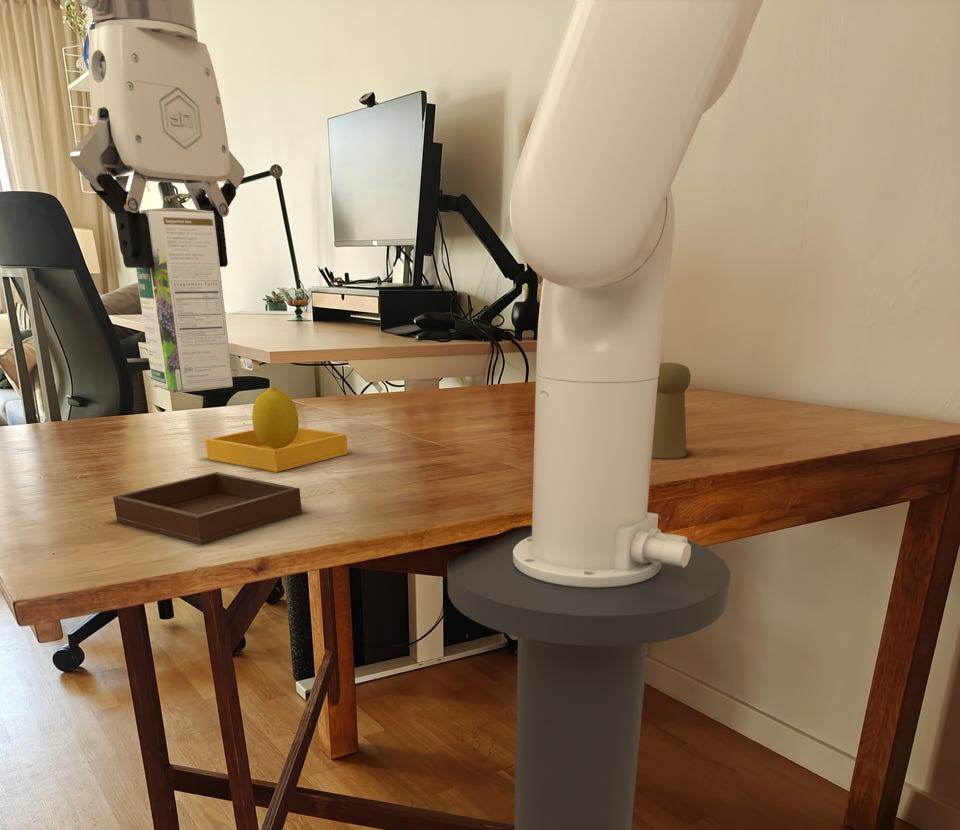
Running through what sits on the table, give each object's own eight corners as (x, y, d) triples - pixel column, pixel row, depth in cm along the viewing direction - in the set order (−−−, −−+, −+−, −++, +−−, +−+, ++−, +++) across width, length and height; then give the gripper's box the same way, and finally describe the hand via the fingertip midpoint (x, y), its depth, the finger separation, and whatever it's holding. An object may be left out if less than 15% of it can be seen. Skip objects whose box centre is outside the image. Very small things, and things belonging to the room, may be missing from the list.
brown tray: (302, 513, 85) (299, 488, 84) (201, 544, 75) (197, 517, 74) (219, 495, 91) (216, 471, 90) (117, 522, 82) (112, 496, 81)
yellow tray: (348, 453, 110) (346, 434, 109) (276, 472, 100) (274, 450, 99) (280, 443, 116) (278, 424, 115) (207, 459, 107) (205, 439, 106)
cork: (645, 458, 107) (652, 366, 102) (633, 448, 112) (639, 360, 108) (692, 458, 107) (702, 366, 103) (678, 448, 113) (686, 360, 108)
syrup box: (150, 387, 79) (122, 209, 73) (213, 381, 82) (190, 210, 76) (172, 394, 74) (144, 206, 68) (237, 387, 78) (215, 208, 72)
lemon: (297, 446, 111) (292, 382, 108) (303, 455, 106) (298, 388, 103) (254, 449, 110) (246, 384, 106) (258, 458, 105) (251, 390, 101)
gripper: (69, -18, 58) (115, 269, 66) (263, 32, 71) (283, 266, 79) (9, -1, 62) (58, 268, 69) (203, 43, 75) (228, 265, 83)
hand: (177, 265), depth 74 cm, fingers closed on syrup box, 7 cm apart
